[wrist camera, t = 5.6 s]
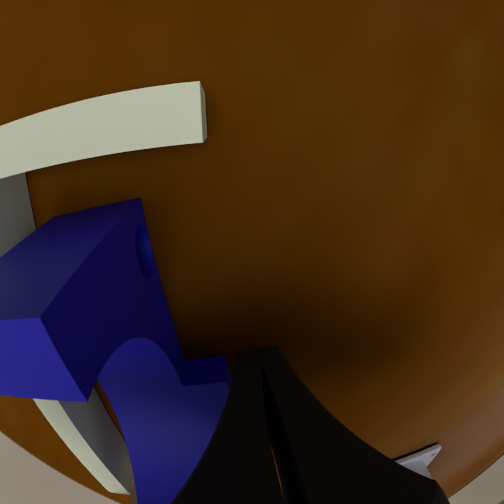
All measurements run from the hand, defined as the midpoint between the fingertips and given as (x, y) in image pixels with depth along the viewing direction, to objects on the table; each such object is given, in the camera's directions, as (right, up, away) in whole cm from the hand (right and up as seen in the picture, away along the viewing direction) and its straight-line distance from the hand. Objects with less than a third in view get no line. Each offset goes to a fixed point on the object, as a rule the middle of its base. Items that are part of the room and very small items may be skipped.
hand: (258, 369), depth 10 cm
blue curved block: (-3, 0, +1) cm, 4 cm away
